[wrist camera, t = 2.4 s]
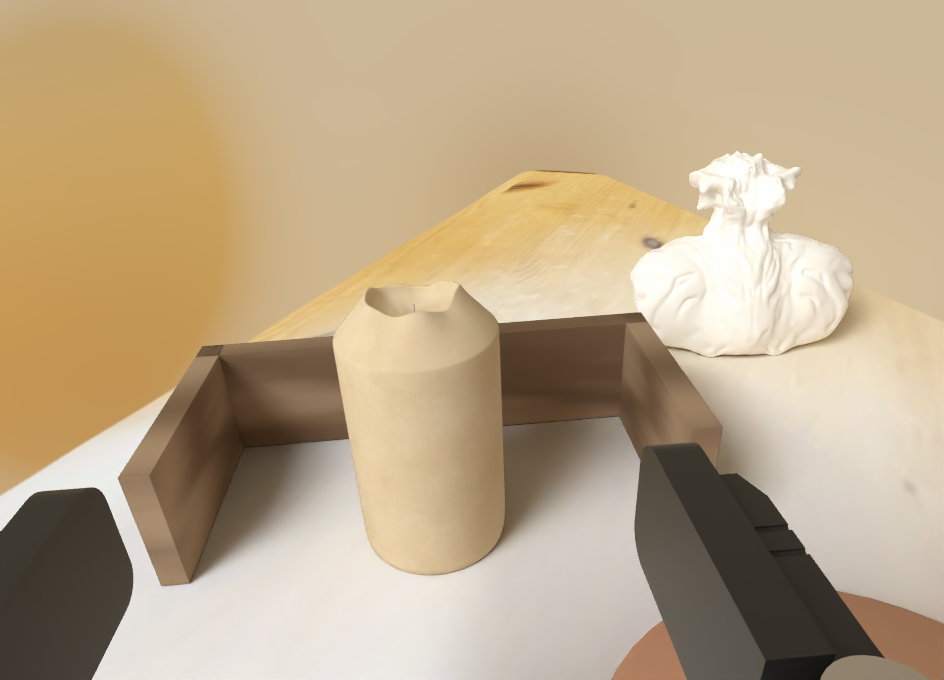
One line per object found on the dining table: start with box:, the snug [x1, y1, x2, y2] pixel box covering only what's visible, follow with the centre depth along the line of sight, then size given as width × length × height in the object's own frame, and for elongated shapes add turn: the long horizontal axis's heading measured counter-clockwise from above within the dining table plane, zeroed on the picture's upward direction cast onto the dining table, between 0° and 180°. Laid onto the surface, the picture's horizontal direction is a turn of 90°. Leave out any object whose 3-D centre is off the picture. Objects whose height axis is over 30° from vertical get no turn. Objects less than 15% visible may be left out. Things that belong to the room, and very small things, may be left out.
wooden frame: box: [118, 312, 722, 586], centre depth 26 cm, size 9×20×5 cm, turn 94°
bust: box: [630, 151, 853, 357], centre depth 36 cm, size 12×8×11 cm
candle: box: [333, 281, 505, 575], centre depth 23 cm, size 6×6×10 cm
